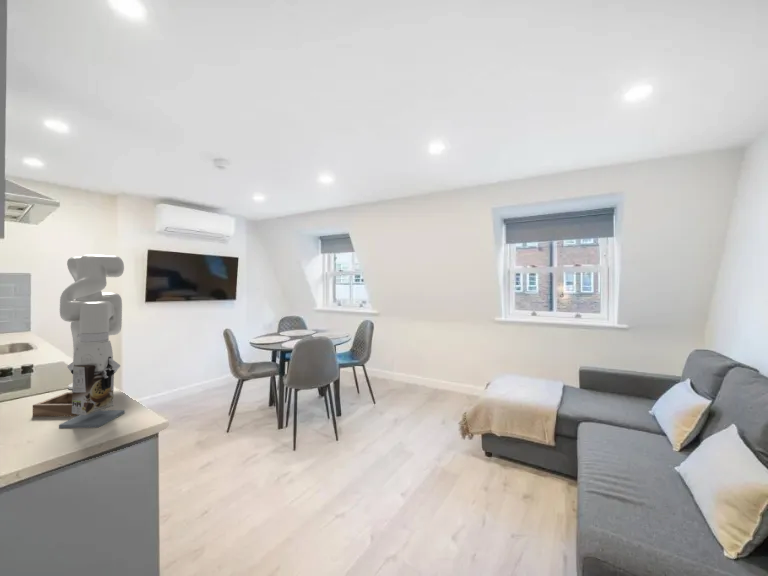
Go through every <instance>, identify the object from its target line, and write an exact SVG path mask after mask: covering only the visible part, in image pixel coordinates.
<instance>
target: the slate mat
mask: <svg viewBox="0 0 768 576" xmlns="http://www.w3.org/2000/svg"><path fill="white" fill-rule="evenodd" d="M125 411H126V410H124V409H113V410H111V409H107V410H106V409H103V410H100V411H97V412H94V413H91V414H89V415H80V414H78V415H76V416H74V417H73V418H71V419H68V420H66V421H63V422H62V423H60V424H58V428H59V429H61V428H62V429H64V428H65V429H68V428H69V429H71V428H75V429H76V428H85V429H87V428H92V429H93V428H100V427H101V426H103V425H105V424H107V423H109V422H111V421H112V420H114V419H116V418H118V417H119V415H120V416H121V414H122V415H123V414H125V413H126V412H125ZM124 412H125V413H124ZM117 416H118V417H117Z"/></svg>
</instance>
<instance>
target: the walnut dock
mask: <svg viewBox="0 0 768 576" xmlns="http://www.w3.org/2000/svg"><path fill="white" fill-rule="evenodd" d="M76 416H78V414H72V391H70V392H65V393H62V394H59V395H56V396H54V397H51V398H48V399H46V400H43V401H41V402H38V403H35V404H33V405H32V417H34V418H35V417H36V418H37V417H43V418H44V417H76Z"/></svg>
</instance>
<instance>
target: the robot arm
mask: <svg viewBox="0 0 768 576" xmlns="http://www.w3.org/2000/svg"><path fill="white" fill-rule="evenodd" d="M66 265H67V269H68V272H69V274H70V276H71V277H72V279H73V281H74V282H73V283H71V284H70V285H68V286H67V287H66V288H65V289H64V290H63V291H62V293H61V294H60V297H59V298H60V299H59V316H60V319H61V320H63V321H64V322H68V323H70V330H71V337H72V348H73V349H72V350H73V351H72V356H73V357H72V362H71V363H70V364H68V365H67V367H66V368H68V370H69V371H70V373H71V374H72V375H73V366H81V365H95V371H96V372H101V374H102V375H103V377H104V378H102V390H105V389H108V388H110V387H111V376H113V374H114V375H115V373H116V372H118V370H119V369H120V368H121V365H120V364H119V363H118V362H116V361H115V360H114V355H113V354H114V353H113V347H112V342H111V340H109V339H110V336H115V335H118V334H120V332H121V331H122V323H123V322H122V320H123V319H122V317H123V301H122V300H123V299H122V297H121V295H120V294H118V293H116V292H102V291H103V290H104V289H106V286H107V278H119V277H121V276H122V275H123V273H124V271H125V265H124V261H123V259H122V258H121V257H120V256H118V255H105V254H83V255H82V256H73V257H70V258H68V259H67V261H66ZM108 364H110V368H112V367H113V368H112V370H111V369H110V368H109V366H108ZM106 370H107V372H106ZM67 388H68V389H69V390H73V382H71V383H70V384H68V385H67Z"/></svg>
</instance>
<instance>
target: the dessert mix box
mask: <svg viewBox="0 0 768 576" xmlns="http://www.w3.org/2000/svg"><path fill="white" fill-rule="evenodd" d="M108 366H109V368H110V364H108ZM112 368H113V367H112ZM112 368H110V369H111V370H112ZM106 372H107V370H106ZM114 375H115V373H114V374H113V376H111V387H110V388H108V389H105V390H102V378H104V377H103V375H102V374H101V372H96V371H95V365H81V366H73V374H72V383H73V389H72V390H71V392H72V414H77V415H89V414H91V413H94V412H97V411H100V410H106V409H108V408H111V407H113V406H114V386H115V385H114V383H115V382H114V379H115V376H114Z"/></svg>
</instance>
